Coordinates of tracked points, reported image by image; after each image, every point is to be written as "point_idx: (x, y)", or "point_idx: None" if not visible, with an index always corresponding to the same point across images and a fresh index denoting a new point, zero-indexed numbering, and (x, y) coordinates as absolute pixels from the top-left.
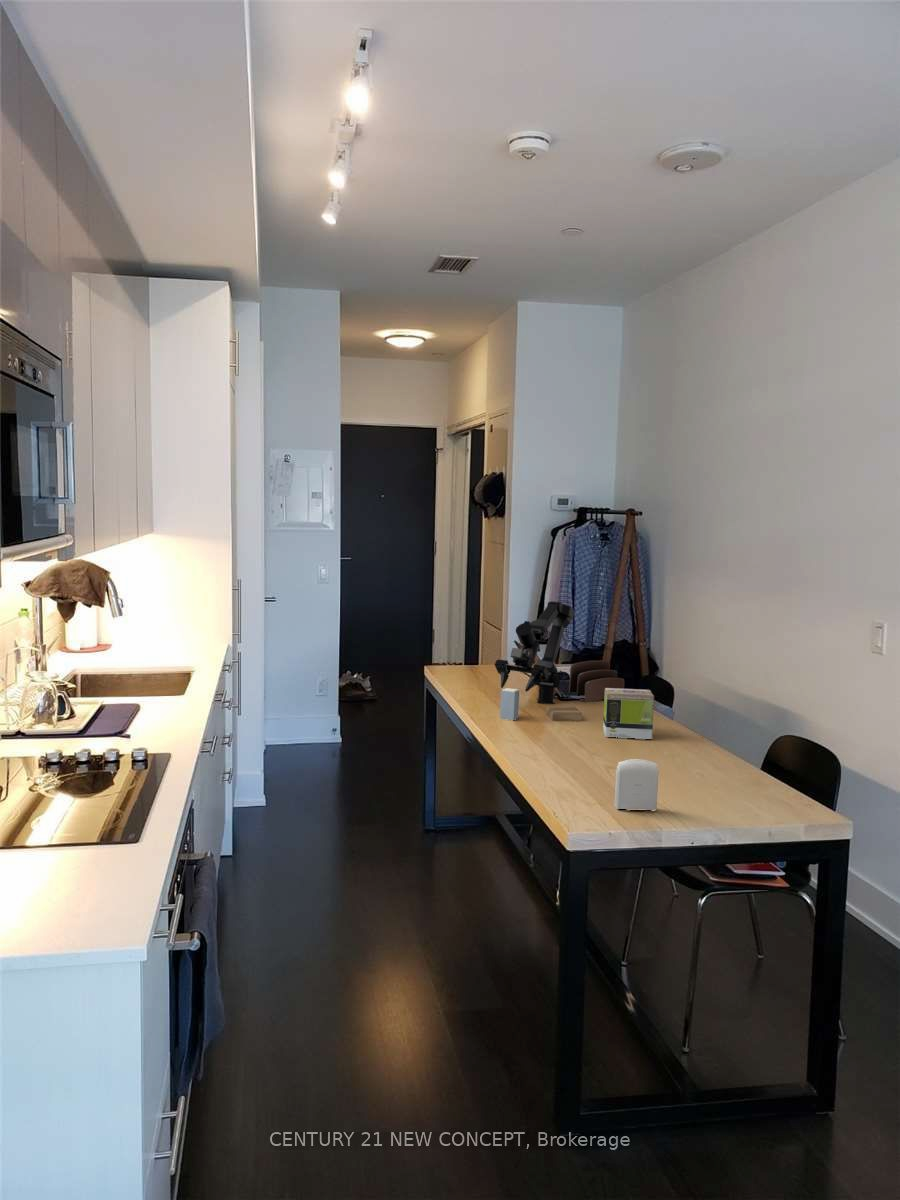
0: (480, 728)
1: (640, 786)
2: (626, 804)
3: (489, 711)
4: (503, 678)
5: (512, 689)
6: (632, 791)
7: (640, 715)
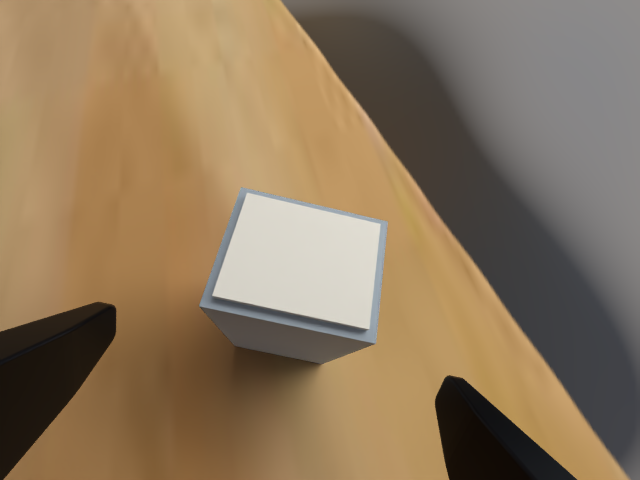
0: (358, 116)
1: None
2: None
3: None
4: (533, 475)
5: (283, 272)
6: None
7: None
